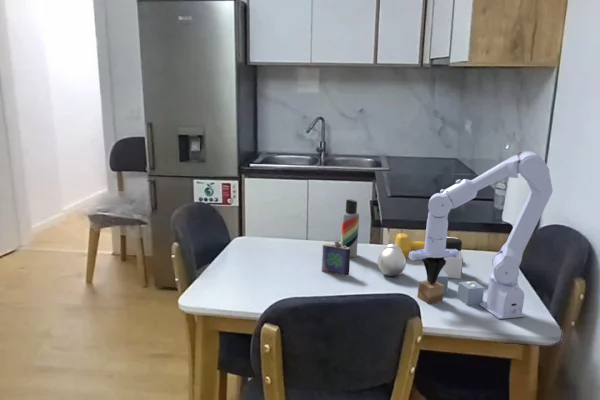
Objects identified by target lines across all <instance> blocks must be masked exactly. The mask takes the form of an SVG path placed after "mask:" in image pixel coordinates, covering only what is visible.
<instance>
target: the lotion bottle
mask: <svg viewBox="0 0 600 400" xmlns="http://www.w3.org/2000/svg"><path fill="white" fill-rule="evenodd" d="M341 219H342V224H341V238H340V239H341V240H340V244H341V245H343V246H346V247H349V248H350V259H351V258H355V257H357V254H358V241H359V226H360V225H359V223H360V213H358V200H355V199H349V198H347V200H346V201H345V211H344V212H343V213H342V218H341Z"/></svg>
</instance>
